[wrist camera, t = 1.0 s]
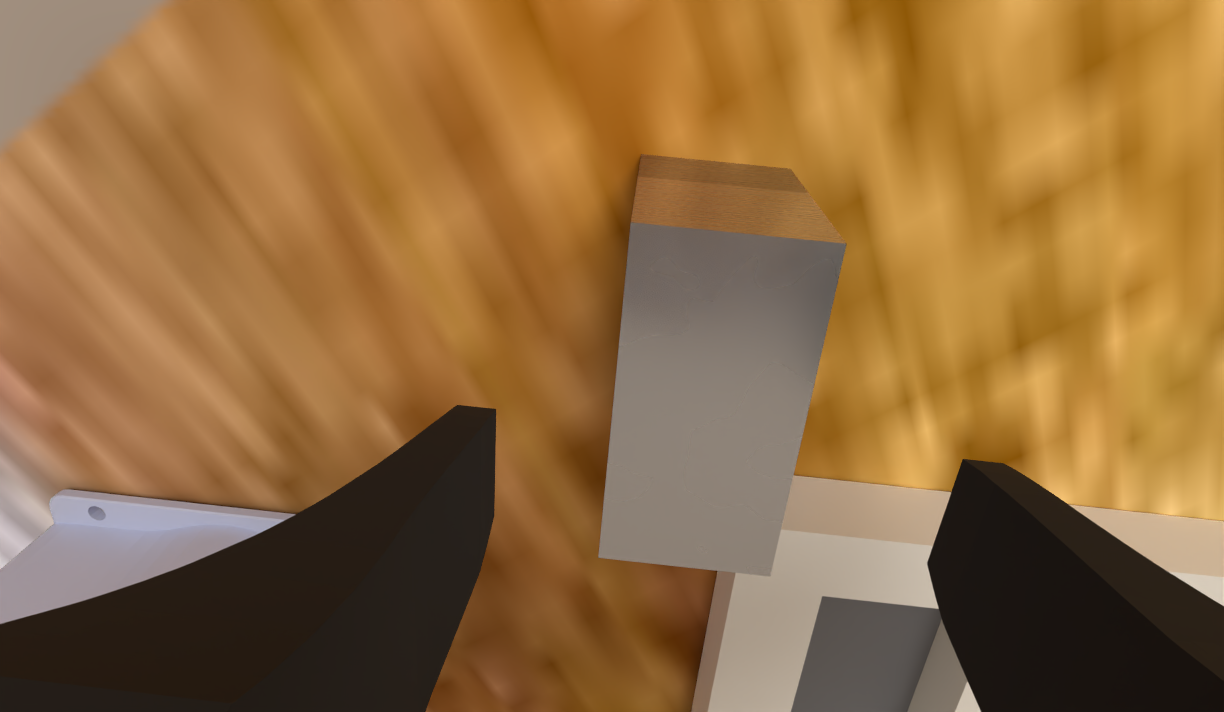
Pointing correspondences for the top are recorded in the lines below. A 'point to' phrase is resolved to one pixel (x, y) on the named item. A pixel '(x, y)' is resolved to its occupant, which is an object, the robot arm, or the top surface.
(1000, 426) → the top surface
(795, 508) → the light grey flat piece
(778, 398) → the tall grey block
